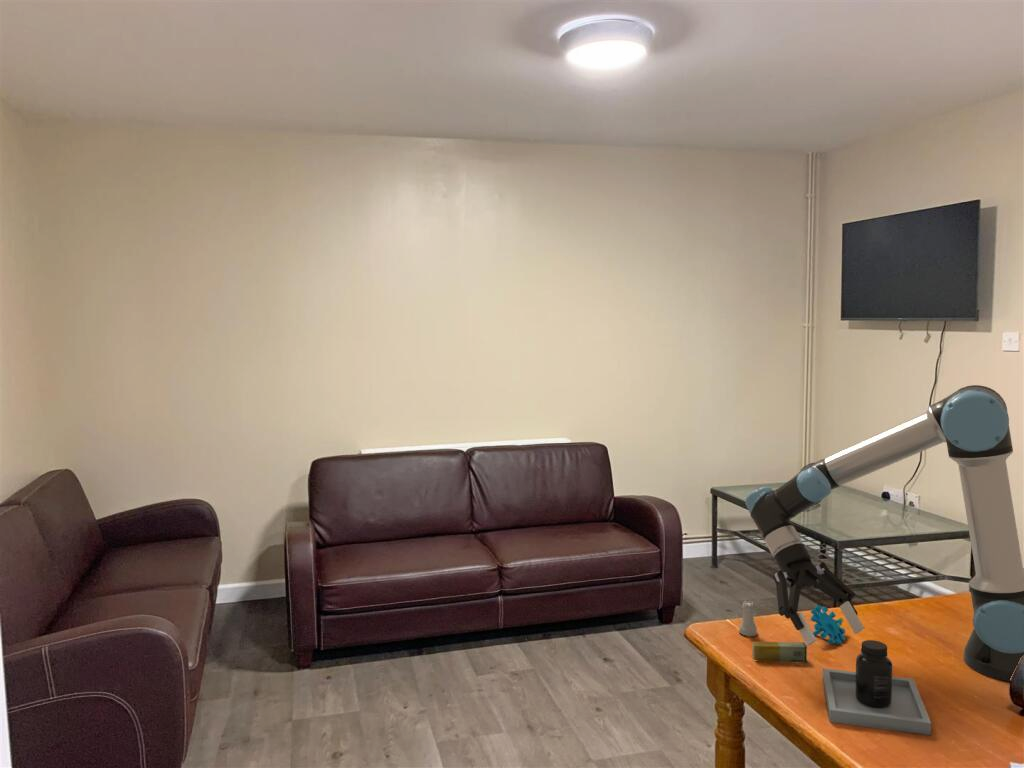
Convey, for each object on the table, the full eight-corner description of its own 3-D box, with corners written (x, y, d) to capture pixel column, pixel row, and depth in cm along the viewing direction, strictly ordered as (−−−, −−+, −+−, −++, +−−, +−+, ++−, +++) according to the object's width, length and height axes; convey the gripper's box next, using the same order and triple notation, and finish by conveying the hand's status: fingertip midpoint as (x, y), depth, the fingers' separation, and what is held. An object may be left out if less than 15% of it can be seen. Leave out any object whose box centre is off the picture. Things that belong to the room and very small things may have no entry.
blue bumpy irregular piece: (829, 644, 186) (807, 605, 191) (812, 655, 189) (790, 617, 195) (857, 639, 192) (834, 601, 197) (839, 650, 195) (818, 612, 201)
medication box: (804, 658, 183) (804, 641, 183) (807, 663, 180) (807, 646, 180) (751, 657, 184) (751, 640, 184) (753, 662, 182) (754, 645, 181)
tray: (913, 690, 167) (913, 679, 167) (930, 735, 150) (931, 723, 150) (822, 679, 173) (822, 668, 172) (829, 721, 156) (830, 709, 155)
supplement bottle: (893, 697, 163) (895, 641, 161) (889, 712, 157) (892, 655, 155) (857, 689, 166) (858, 634, 165) (852, 703, 160) (854, 647, 159)
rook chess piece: (753, 629, 199) (754, 598, 198) (759, 636, 194) (760, 605, 193) (736, 629, 199) (736, 599, 198) (742, 637, 194) (742, 606, 193)
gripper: (820, 550, 190) (868, 633, 178) (737, 565, 180) (781, 654, 168) (838, 534, 184) (889, 619, 172) (752, 549, 175) (800, 640, 163)
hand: (836, 637), depth 170 cm, fingers open, 13 cm apart
